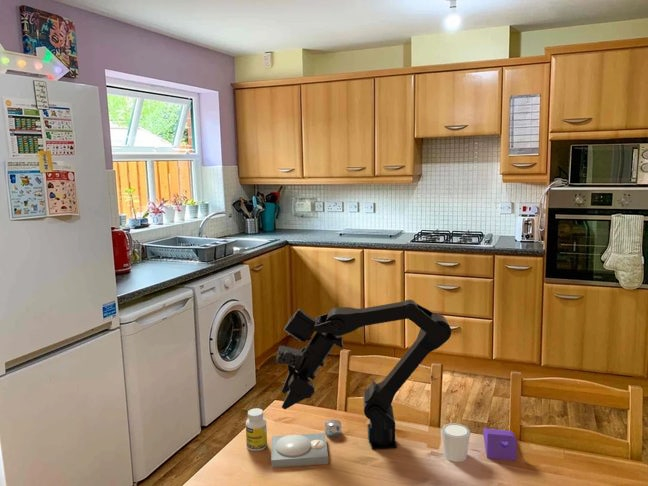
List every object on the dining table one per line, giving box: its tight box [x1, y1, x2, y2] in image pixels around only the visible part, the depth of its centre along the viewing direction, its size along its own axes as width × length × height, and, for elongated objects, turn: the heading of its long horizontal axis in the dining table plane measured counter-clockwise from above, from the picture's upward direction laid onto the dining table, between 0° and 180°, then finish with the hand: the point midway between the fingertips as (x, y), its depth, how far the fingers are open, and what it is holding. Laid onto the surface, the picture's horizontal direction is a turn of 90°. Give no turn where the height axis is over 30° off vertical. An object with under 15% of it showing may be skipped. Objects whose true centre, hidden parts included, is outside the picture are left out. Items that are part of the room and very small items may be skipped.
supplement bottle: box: [245, 407, 268, 452], centre depth 139 cm, size 5×5×10 cm
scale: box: [270, 432, 329, 469], centre depth 136 cm, size 14×11×3 cm
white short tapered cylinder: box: [441, 422, 471, 463], centre depth 133 cm, size 7×7×7 cm
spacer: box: [324, 418, 342, 439], centre depth 145 cm, size 4×4×3 cm
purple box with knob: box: [482, 427, 518, 461], centre depth 136 cm, size 12×7×7 cm, turn 168°
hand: (283, 400), depth 137 cm, fingers open, 9 cm apart
